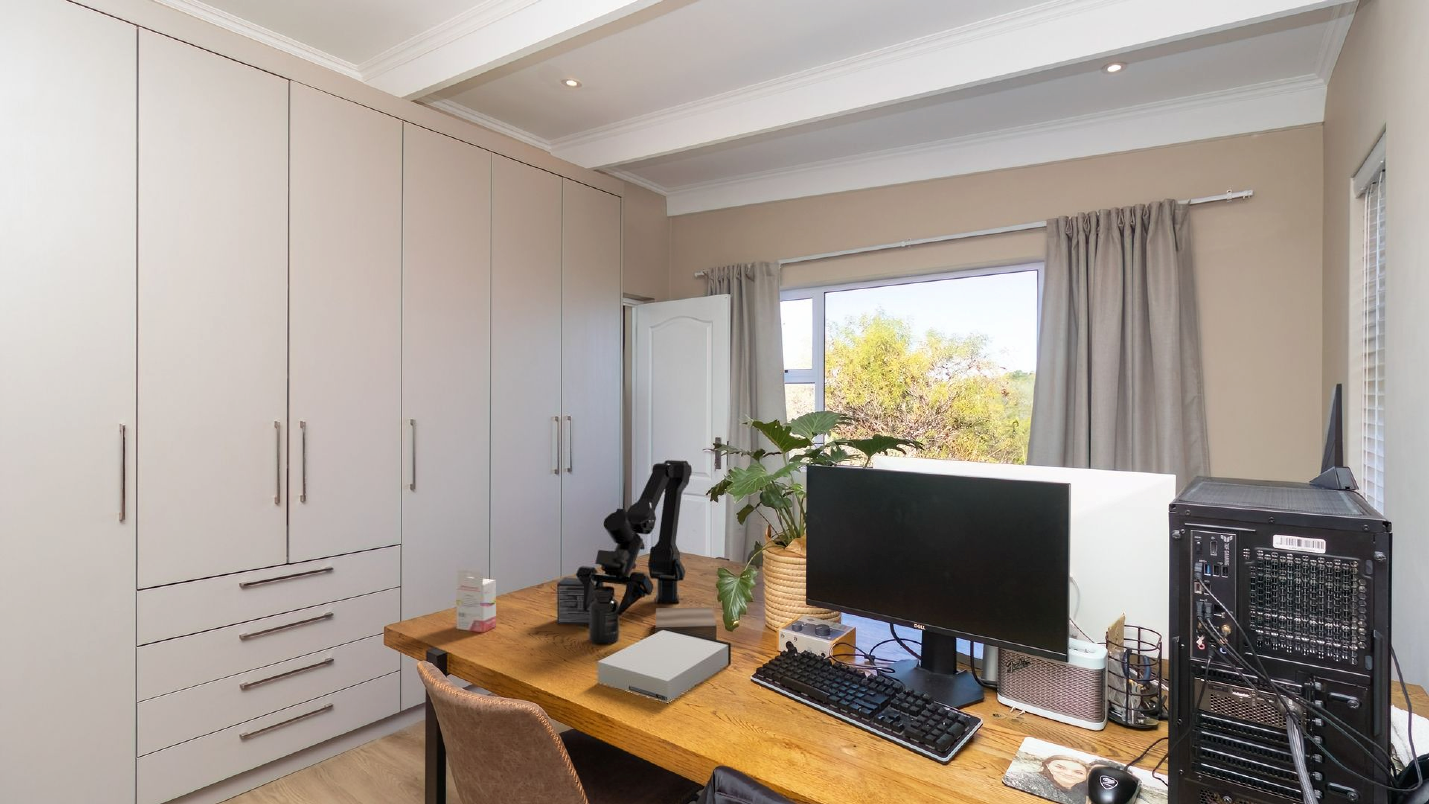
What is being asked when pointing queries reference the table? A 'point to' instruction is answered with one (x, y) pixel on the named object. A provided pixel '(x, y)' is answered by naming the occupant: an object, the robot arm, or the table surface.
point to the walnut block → (688, 621)
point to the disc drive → (664, 664)
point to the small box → (571, 602)
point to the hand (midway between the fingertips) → (601, 612)
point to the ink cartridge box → (475, 601)
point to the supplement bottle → (603, 616)
